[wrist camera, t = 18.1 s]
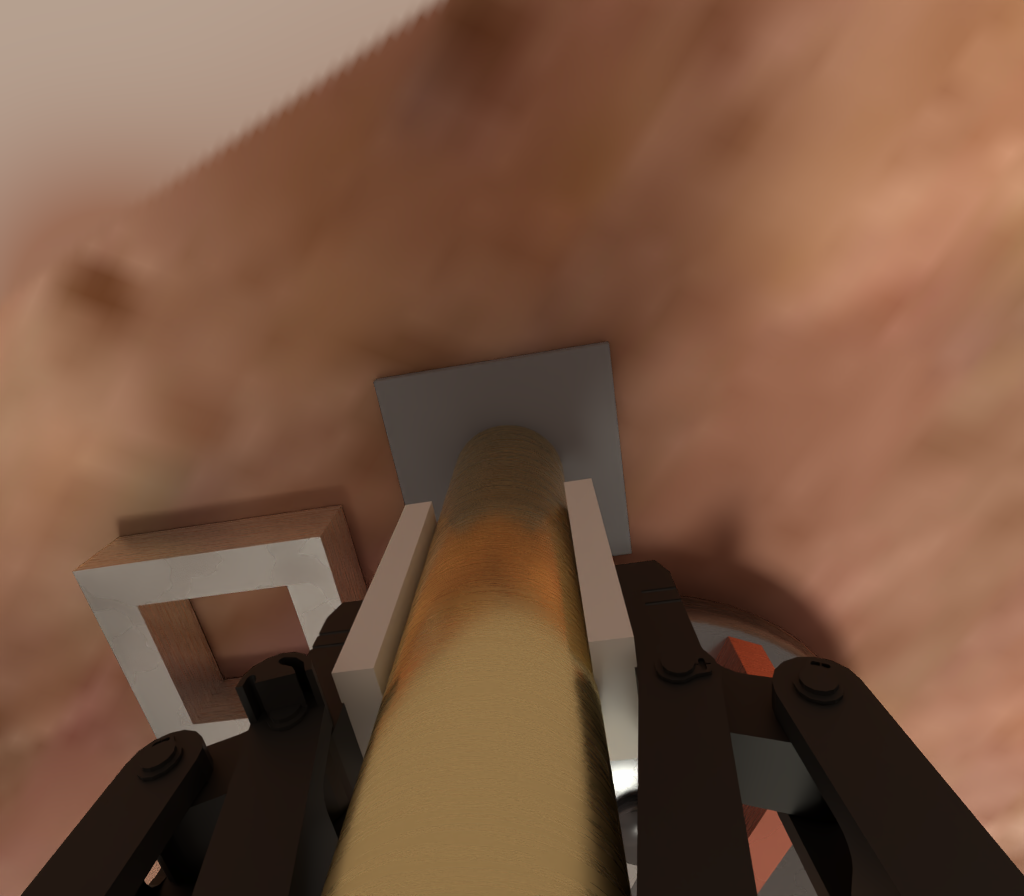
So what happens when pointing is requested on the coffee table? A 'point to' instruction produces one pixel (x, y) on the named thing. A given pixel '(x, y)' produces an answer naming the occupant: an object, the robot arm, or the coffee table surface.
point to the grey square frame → (206, 572)
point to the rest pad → (510, 422)
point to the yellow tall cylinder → (490, 707)
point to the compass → (774, 859)
